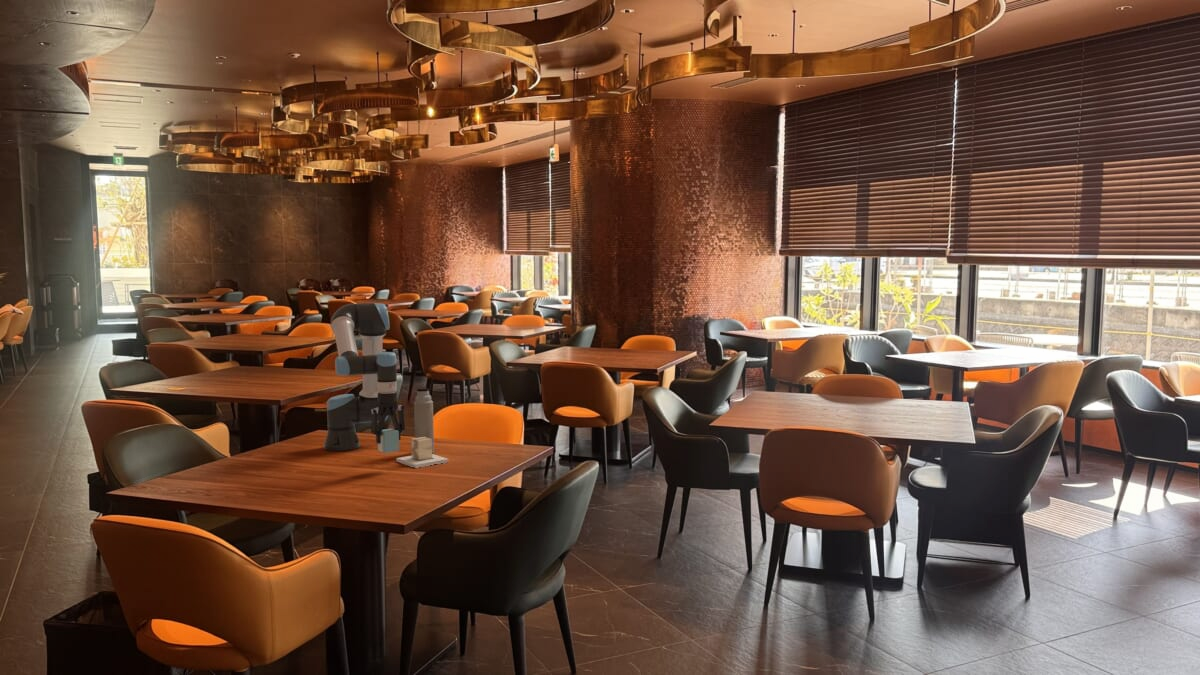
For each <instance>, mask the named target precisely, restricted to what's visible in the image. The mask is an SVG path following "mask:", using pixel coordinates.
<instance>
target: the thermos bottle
mask: <svg viewBox="0 0 1200 675" xmlns="http://www.w3.org/2000/svg"><path fill="white" fill-rule="evenodd" d="M429 390H430V389H429V388H426V387H422V388H421V387H420V388H417V389H416V391H417V395H416V396H415V398H414V400H415V401H414V402H413V412H414V413H413V416H414V417H413V418H414V419H413V420H414V421H413V422H414V438H420V437H427V438H430V439H432V453H433V452H434V453H435V438H434V437H435V434H434V431H435V430H434V429H435V428H434V401H433V400H432V396H431V394H430V391H429ZM434 453H433V454H434Z"/></svg>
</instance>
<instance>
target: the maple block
mask: <svg viewBox="0 0 1200 675" xmlns="http://www.w3.org/2000/svg"><path fill="white" fill-rule="evenodd" d="M411 456H412V458H414V459H417V460H425V459H430V458H432V439H430V438H427V437H420V438H415V437H414V438H411Z"/></svg>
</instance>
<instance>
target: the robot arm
mask: <svg viewBox="0 0 1200 675" xmlns="http://www.w3.org/2000/svg"><path fill="white" fill-rule="evenodd" d="M390 327H391V326H390V318H389V312H388V308H387V305H386V304H385V303H380V302H379V303H378V302H371V303H370V302H367V303H366V302H365V303H348V304H345V305H342V306H341V307H339V308H338V309H337V310H336V311H335V312H334V313H333V315H332V317H331V320H330V329H331V331H332V333H333V334H334V336H335V343H336V349H337V353H338V356H336V357H335V359H334V366H335V374H336V375H337V376H345V377H347V376H358V375H360V376H361V375H362V389H361V391H359V395H358V396H355V394H354V393H344V394H339V395H338V394H337V395H335V396H331V397H330V398H328V399H327V402H326V406H327V407H326V412H327V414H326V415H327V433H326V436H325V441H324V443H323V450H325V451H330V452H346V451H353V450H356V449H357V450H358V449H359V448H360V446H361V445H360V444H361V443H360V439H359V436H358V434H357V431H356V424H367V423H371V431H370V434H373V435H374V436H375V439H376V440H375V442H376V444H377V451H378V452H381V453H383V435H381V433H382V430H384V425H385V421H386V420H388V418H389V416H390V418H391V422H392V425H393V427H394V430H397V431H399V441H401V438H402V437H401V433H402V432H403V431H405V429H406V425H405V424H406V423H405V414H404V413H405V412H404V411H405V408H406V407H405V405H402V404H399V403H398V392H397V390H398V380H397V379H398V378H397V374H398V373H397V363H398V360H397V355H396V353H395V352H393V351H383V338H384V337H385V336H386V335H387V331H388V330H390V329H391V328H390ZM354 331H357V332H358V335H359V336H360V338H362V339H361V340H362V343H361V344H362V347H361V348H362V353H361V354H362V355H359V352H358V347H357V342H356V338H355V333H354ZM396 411H397V413H396ZM397 414H398V415H397Z"/></svg>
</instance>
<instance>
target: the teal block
mask: <svg viewBox="0 0 1200 675" xmlns="http://www.w3.org/2000/svg"><path fill="white" fill-rule="evenodd" d="M381 435H383V452H382V453H384V454H389V453H395V452H400V440H399V431H397V430H395V428H394V429H393V428H387V429H386V428H385V429H382V433H381Z"/></svg>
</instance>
